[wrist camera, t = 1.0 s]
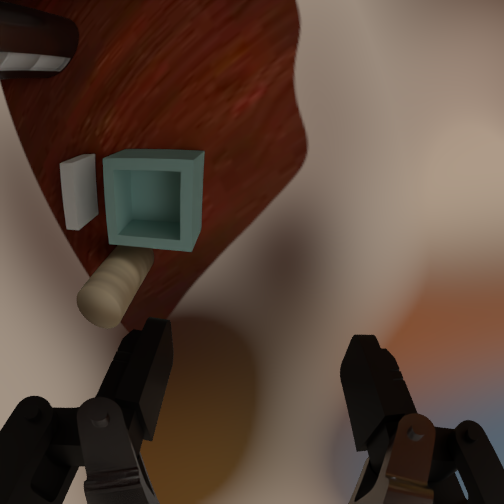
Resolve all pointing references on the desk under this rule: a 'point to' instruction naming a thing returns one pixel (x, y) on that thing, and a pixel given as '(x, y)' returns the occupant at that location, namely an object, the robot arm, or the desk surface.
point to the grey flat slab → (79, 190)
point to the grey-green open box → (154, 198)
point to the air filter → (34, 42)
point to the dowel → (114, 285)
